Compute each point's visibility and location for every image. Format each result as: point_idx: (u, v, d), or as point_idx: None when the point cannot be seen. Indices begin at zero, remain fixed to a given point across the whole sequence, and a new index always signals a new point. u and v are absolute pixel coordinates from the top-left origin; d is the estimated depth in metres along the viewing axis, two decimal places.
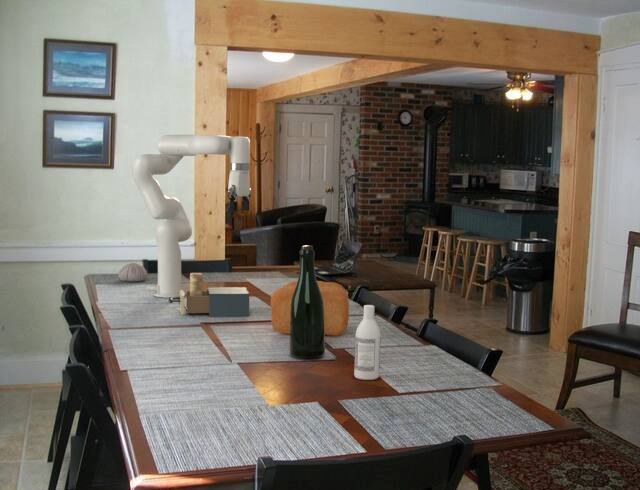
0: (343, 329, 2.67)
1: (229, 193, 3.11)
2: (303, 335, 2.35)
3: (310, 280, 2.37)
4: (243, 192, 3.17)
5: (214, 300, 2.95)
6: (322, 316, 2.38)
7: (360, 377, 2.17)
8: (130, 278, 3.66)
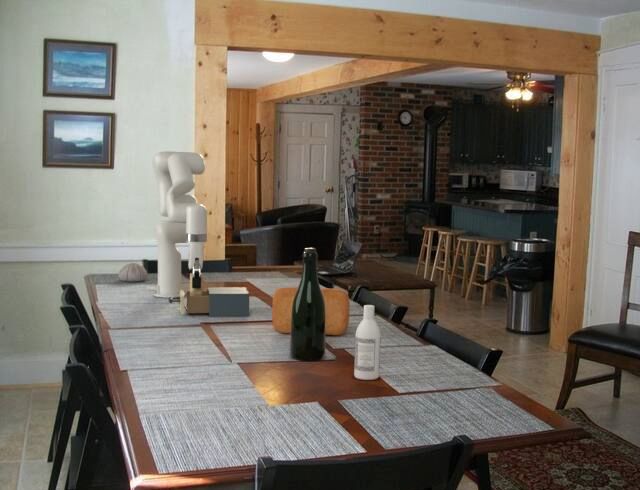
0: (343, 327, 2.68)
1: (197, 272, 2.93)
2: (304, 339, 2.34)
3: (312, 283, 2.35)
4: None
5: (214, 300, 2.95)
6: (323, 319, 2.36)
7: (360, 377, 2.17)
8: (130, 278, 3.66)
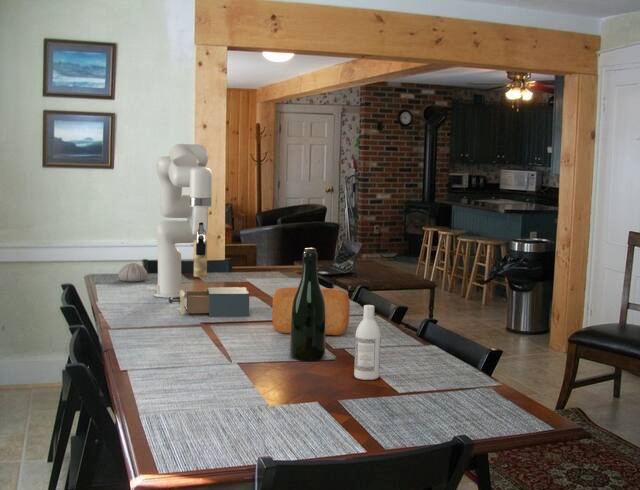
0: (343, 327, 2.68)
1: (201, 237, 2.78)
2: (304, 339, 2.34)
3: (312, 283, 2.35)
4: None
5: (214, 300, 2.95)
6: (323, 319, 2.36)
7: (360, 377, 2.17)
8: (130, 278, 3.66)
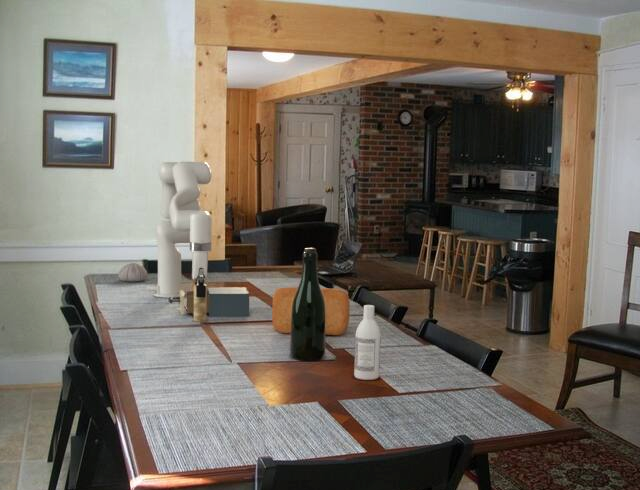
0: (343, 327, 2.68)
1: (201, 278, 2.78)
2: (304, 339, 2.34)
3: (312, 283, 2.35)
4: None
5: (214, 300, 2.95)
6: (323, 319, 2.36)
7: (360, 377, 2.17)
8: (130, 278, 3.66)
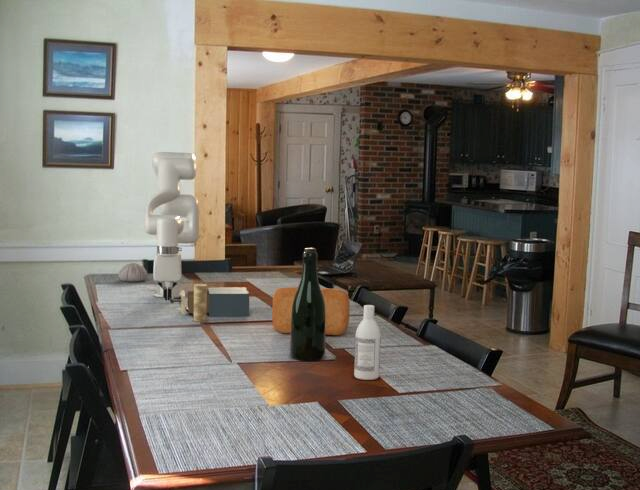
0: (343, 327, 2.68)
1: None
2: (304, 339, 2.34)
3: (312, 283, 2.35)
4: (164, 277, 2.94)
5: (214, 300, 2.95)
6: (323, 319, 2.36)
7: (360, 377, 2.17)
8: (130, 278, 3.66)
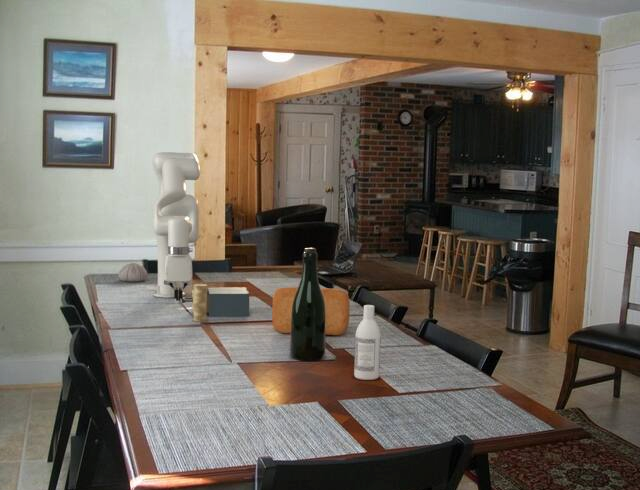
0: (343, 327, 2.68)
1: (166, 284, 2.97)
2: (304, 339, 2.34)
3: (312, 283, 2.35)
4: (175, 277, 2.95)
5: (214, 300, 2.95)
6: (323, 319, 2.36)
7: (360, 377, 2.17)
8: (130, 278, 3.66)
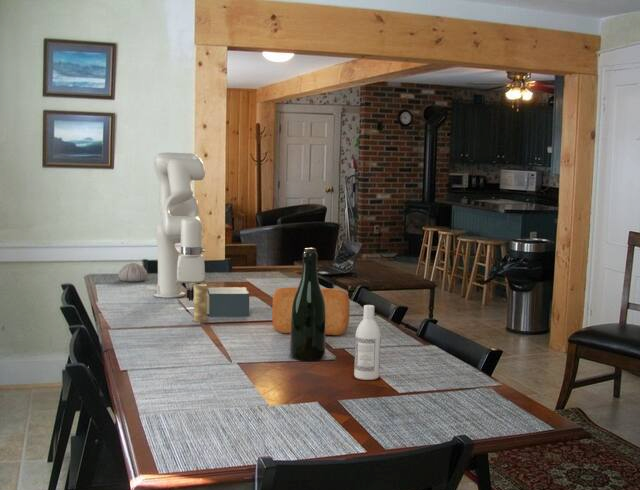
0: (343, 327, 2.68)
1: (178, 284, 2.98)
2: (304, 339, 2.34)
3: (312, 283, 2.35)
4: (188, 277, 2.96)
5: (214, 300, 2.95)
6: (323, 319, 2.36)
7: (360, 377, 2.17)
8: (130, 278, 3.66)
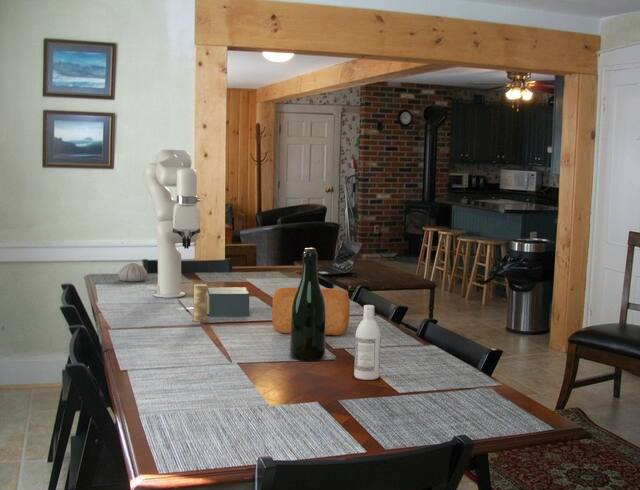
0: (343, 327, 2.68)
1: (174, 232, 3.08)
2: (304, 339, 2.34)
3: (312, 283, 2.35)
4: (184, 226, 3.06)
5: (214, 300, 2.95)
6: (323, 319, 2.36)
7: (360, 377, 2.17)
8: (130, 278, 3.66)
